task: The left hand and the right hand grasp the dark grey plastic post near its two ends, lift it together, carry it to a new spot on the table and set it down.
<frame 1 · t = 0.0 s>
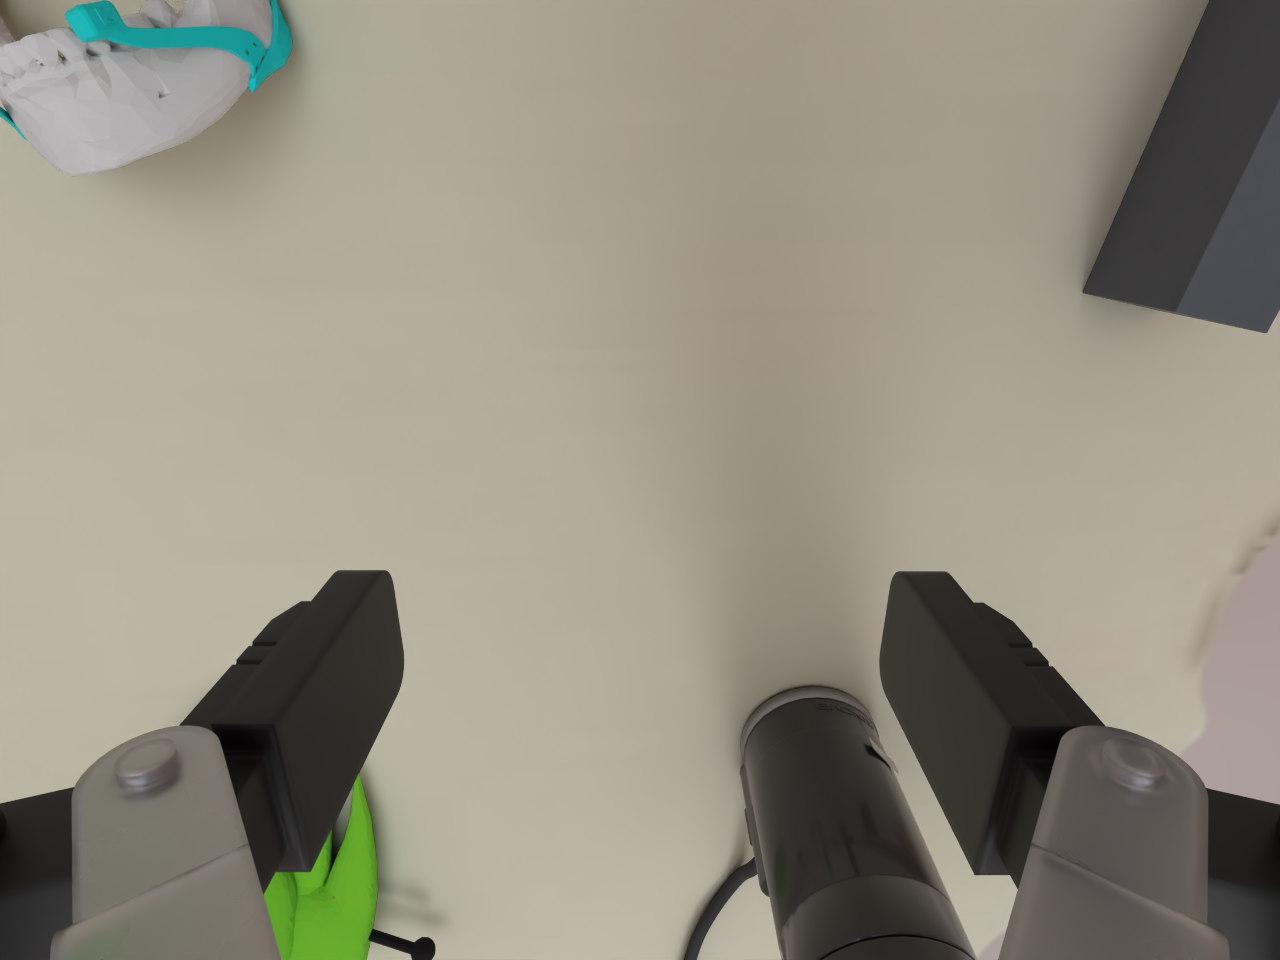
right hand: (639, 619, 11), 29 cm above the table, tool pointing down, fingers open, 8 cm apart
anatomical model: (158, 48, 34), on the table
toy 2: (279, 833, 53), on the table
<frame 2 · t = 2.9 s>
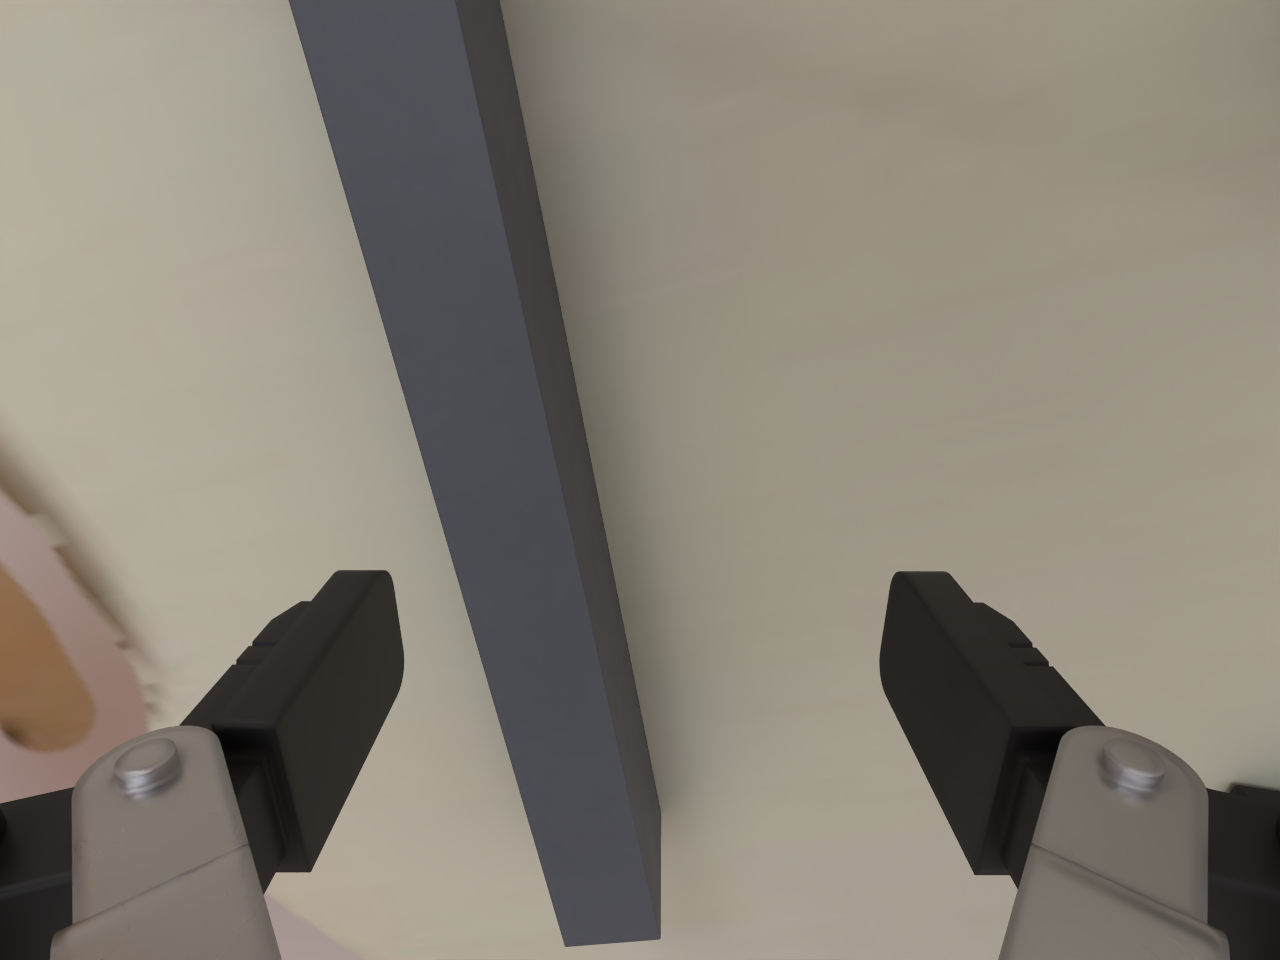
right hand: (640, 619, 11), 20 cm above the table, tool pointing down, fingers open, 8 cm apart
post: (452, 76, 26), on the table, touching left hand
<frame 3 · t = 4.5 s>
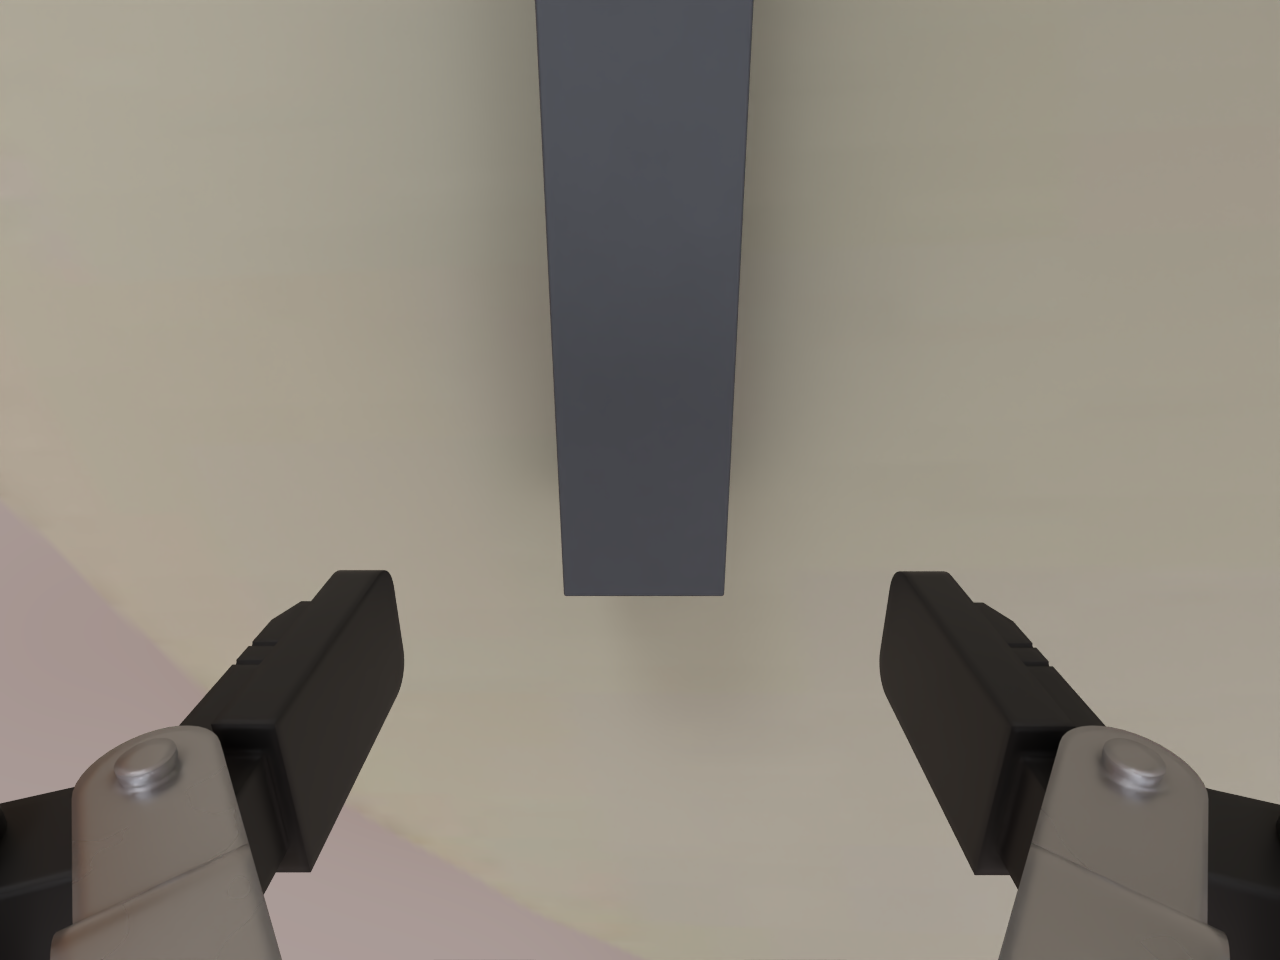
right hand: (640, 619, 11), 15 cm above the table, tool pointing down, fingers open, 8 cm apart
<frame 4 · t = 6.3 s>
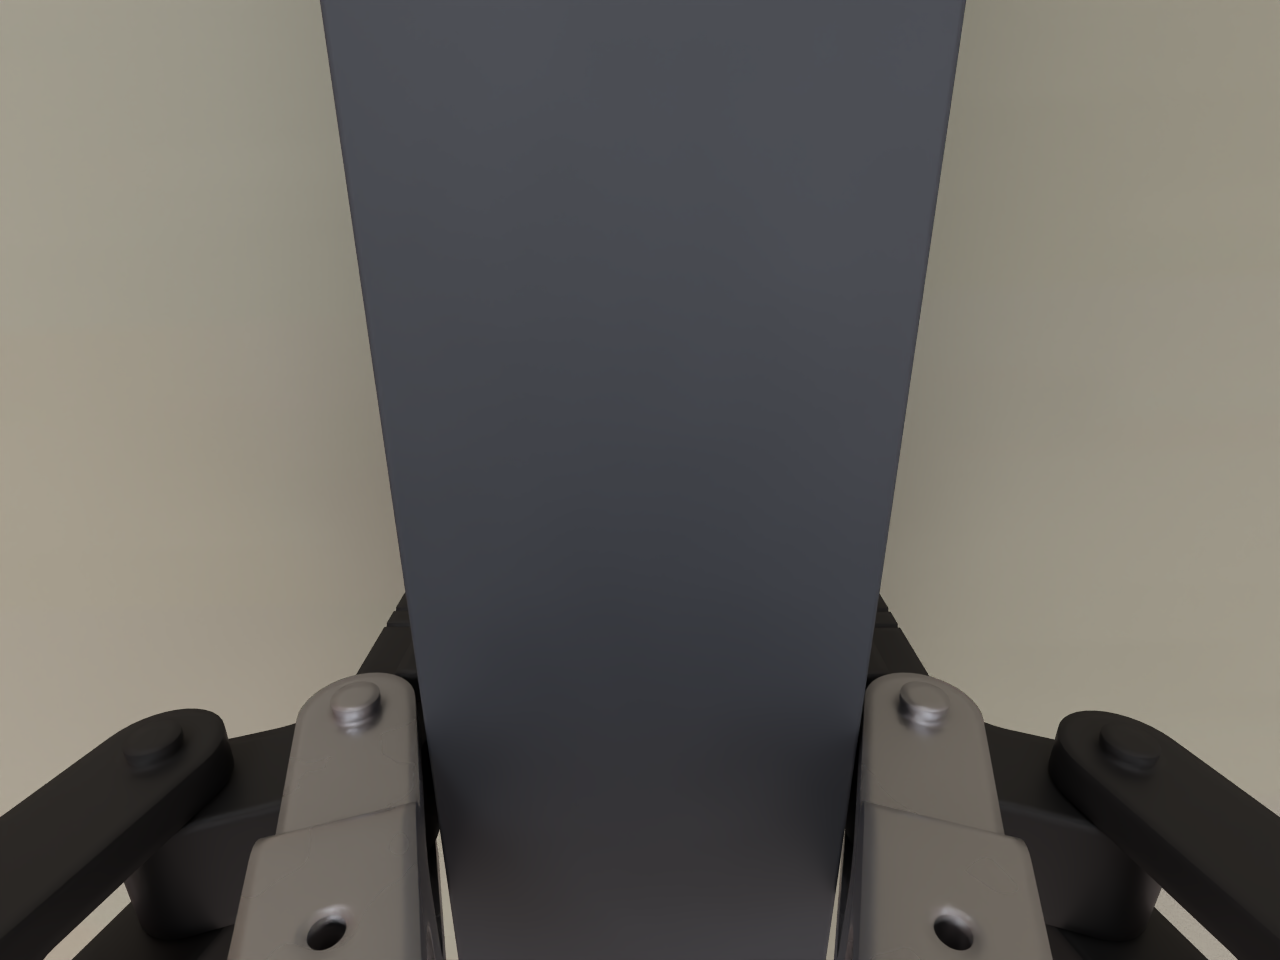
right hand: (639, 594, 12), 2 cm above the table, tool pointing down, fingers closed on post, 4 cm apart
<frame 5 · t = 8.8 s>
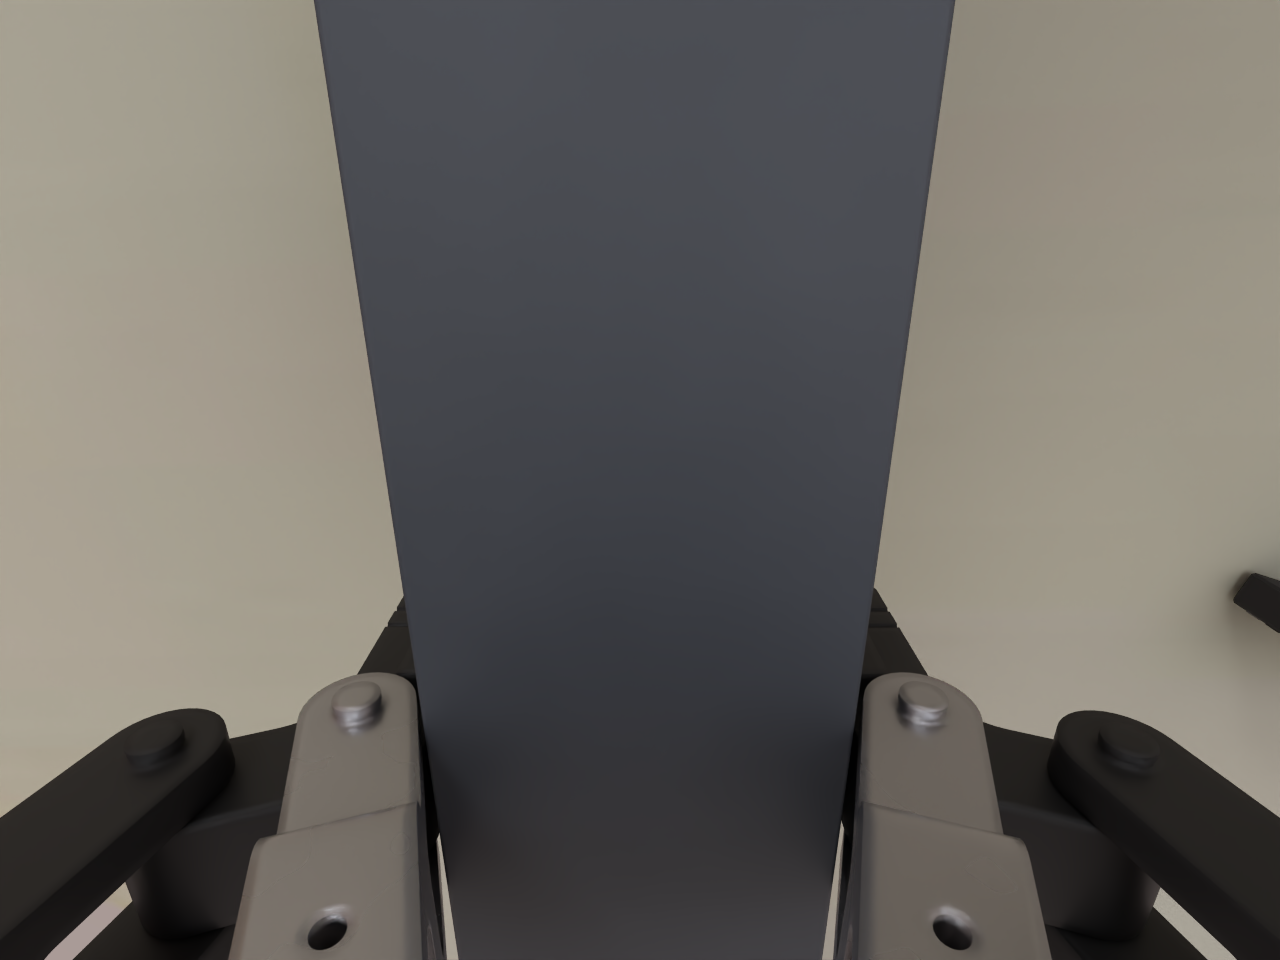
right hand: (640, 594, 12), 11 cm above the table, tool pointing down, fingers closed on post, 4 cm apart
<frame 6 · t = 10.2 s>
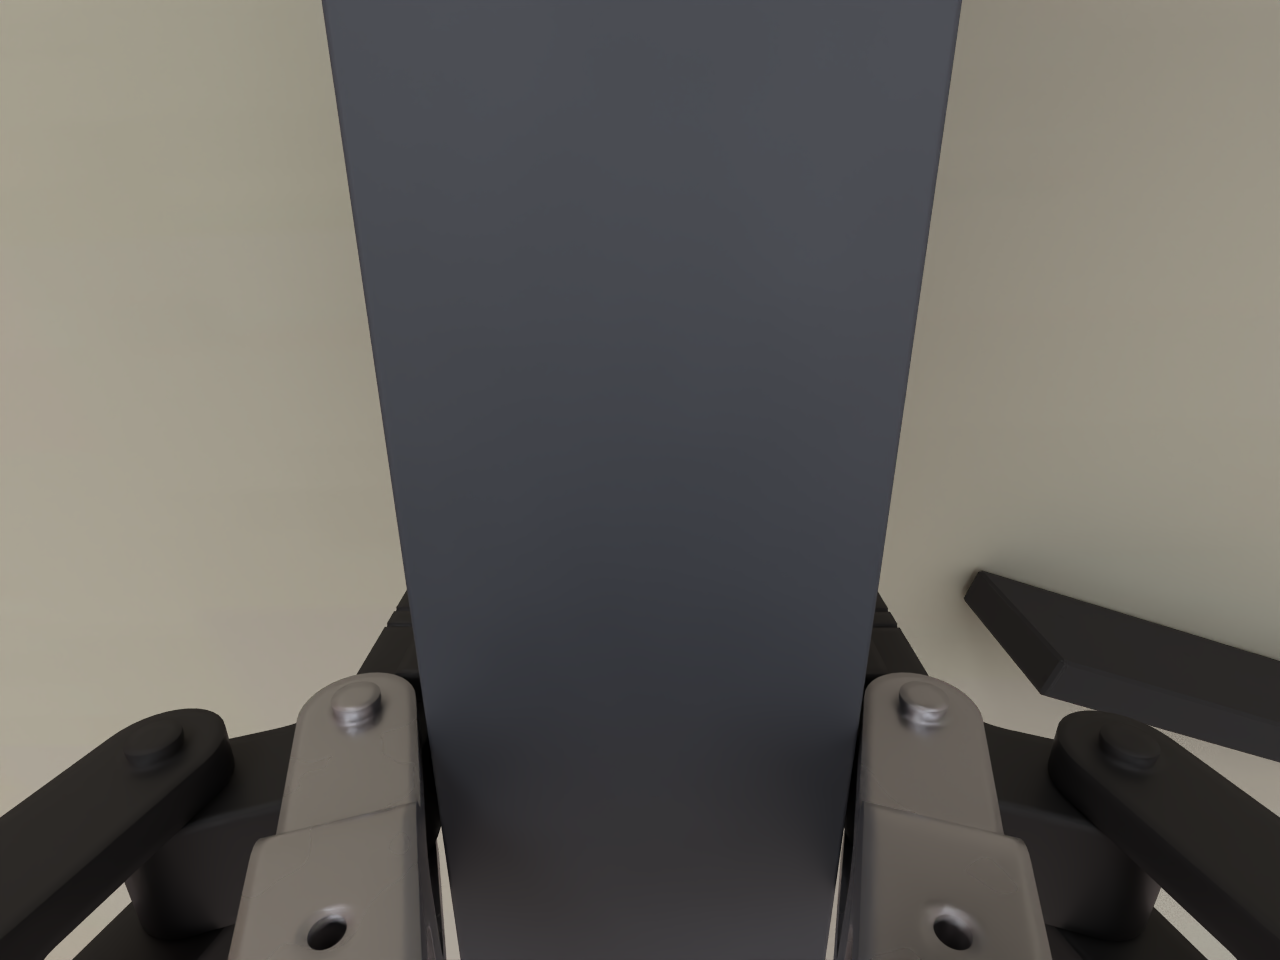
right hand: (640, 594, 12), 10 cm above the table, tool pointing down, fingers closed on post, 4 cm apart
midi keyboard: (1188, 648, 25), on the table
when the left hand's fingers open (3 cm above the table, at t = 11.5 s): post stays where it is, on the table.
when the right hand's fingers open (3 cm above the table, at t = 11.5 s): post stays where it is, on the table.
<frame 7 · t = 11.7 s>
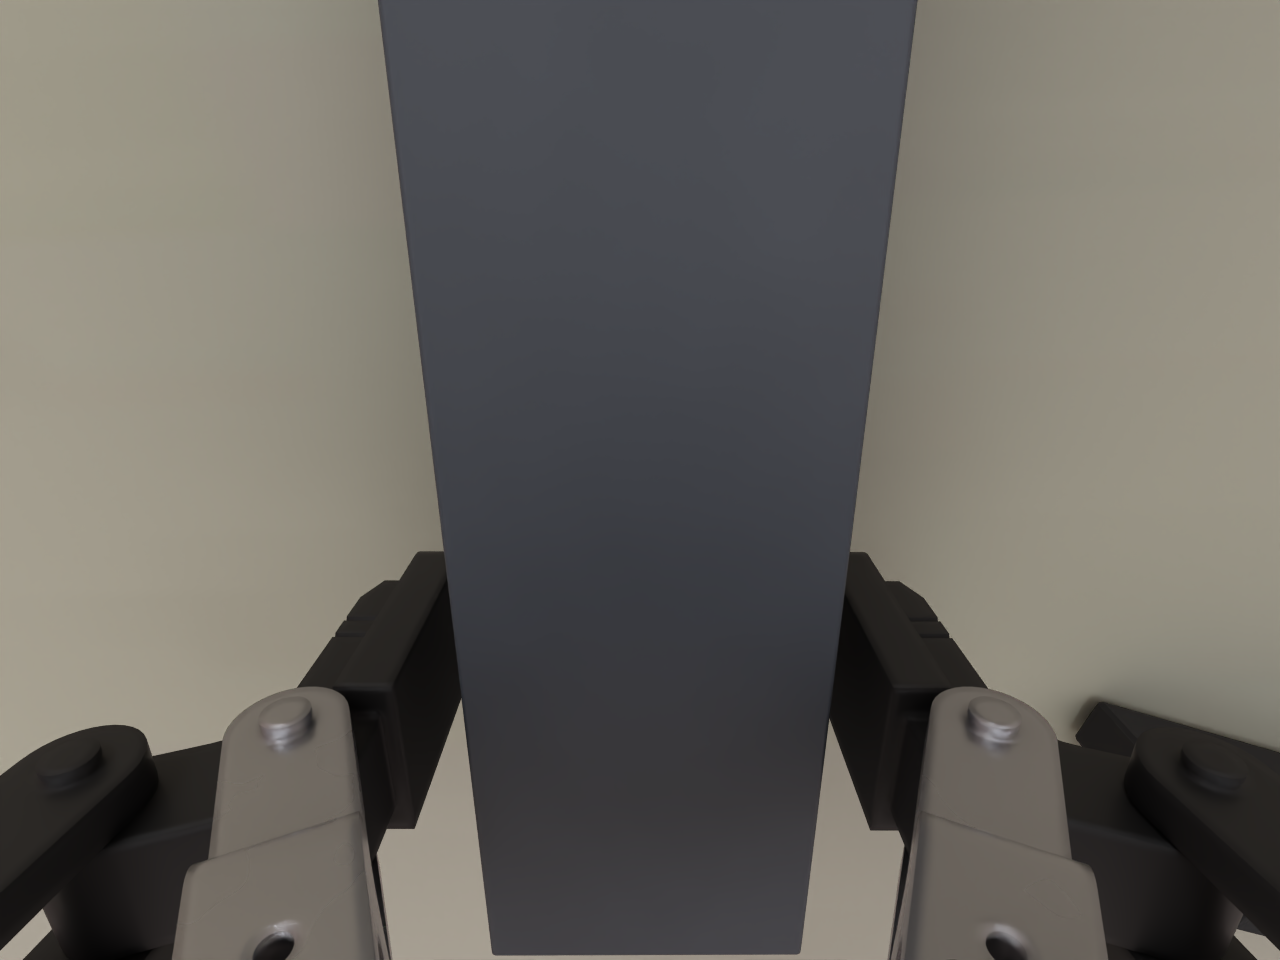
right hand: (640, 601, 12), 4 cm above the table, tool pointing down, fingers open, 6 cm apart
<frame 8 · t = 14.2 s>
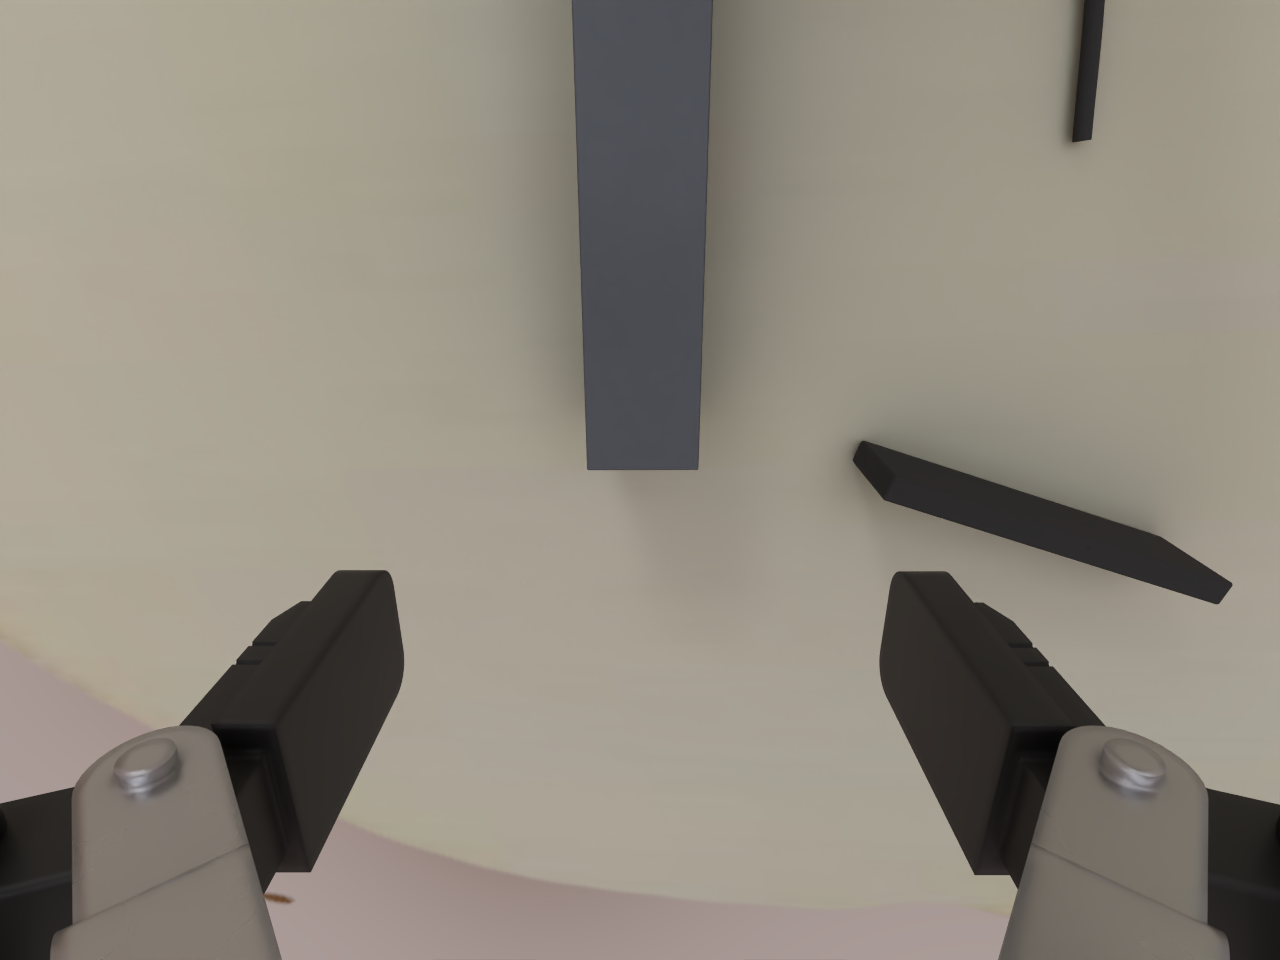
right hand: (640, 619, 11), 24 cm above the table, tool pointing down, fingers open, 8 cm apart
midi keyboard: (1007, 498, 37), on the table
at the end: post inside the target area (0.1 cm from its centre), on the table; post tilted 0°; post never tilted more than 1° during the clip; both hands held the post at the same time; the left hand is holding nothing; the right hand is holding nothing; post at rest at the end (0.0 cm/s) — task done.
